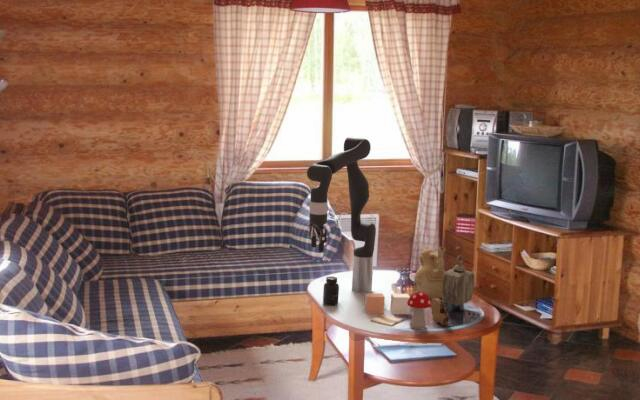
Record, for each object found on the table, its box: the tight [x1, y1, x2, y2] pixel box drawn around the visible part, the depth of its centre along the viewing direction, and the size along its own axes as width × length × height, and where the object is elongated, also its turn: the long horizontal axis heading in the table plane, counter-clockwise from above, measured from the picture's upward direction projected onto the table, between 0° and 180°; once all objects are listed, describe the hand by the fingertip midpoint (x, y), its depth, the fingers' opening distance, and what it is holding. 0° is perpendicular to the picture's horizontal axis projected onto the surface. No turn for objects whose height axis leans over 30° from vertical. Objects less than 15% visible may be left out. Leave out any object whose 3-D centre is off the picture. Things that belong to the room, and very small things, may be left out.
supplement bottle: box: [322, 276, 340, 307], centre depth 330 cm, size 7×7×12 cm
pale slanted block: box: [390, 293, 411, 315], centre depth 322 cm, size 7×5×8 cm
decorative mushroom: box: [407, 291, 432, 330], centre depth 303 cm, size 10×9×15 cm
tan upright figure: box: [413, 246, 446, 300], centre depth 349 cm, size 17×20×25 cm
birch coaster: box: [370, 313, 404, 327], centre depth 311 cm, size 10×10×1 cm
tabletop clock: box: [441, 254, 475, 312], centre depth 328 cm, size 14×9×25 cm, turn 145°
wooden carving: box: [429, 298, 450, 326], centre depth 311 cm, size 16×5×10 cm, turn 17°
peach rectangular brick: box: [364, 292, 386, 315], centre depth 322 cm, size 7×5×8 cm
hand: (317, 249), depth 315 cm, fingers open, 8 cm apart
